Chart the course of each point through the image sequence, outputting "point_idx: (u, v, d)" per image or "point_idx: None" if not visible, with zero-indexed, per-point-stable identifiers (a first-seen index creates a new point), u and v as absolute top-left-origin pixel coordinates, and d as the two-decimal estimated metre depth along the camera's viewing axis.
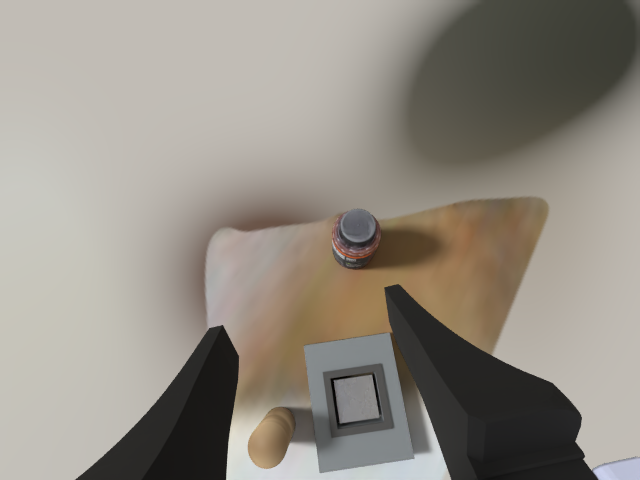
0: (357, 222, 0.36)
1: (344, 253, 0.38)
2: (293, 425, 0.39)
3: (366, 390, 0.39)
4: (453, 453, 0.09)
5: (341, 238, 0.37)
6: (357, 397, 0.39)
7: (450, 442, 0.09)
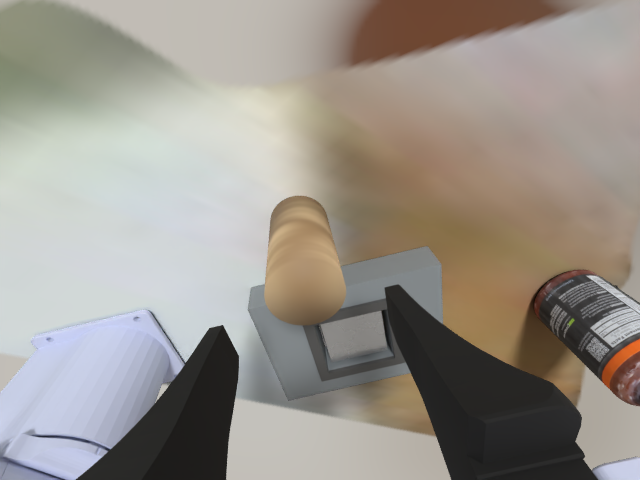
0: None
1: (630, 360, 0.21)
2: None
3: (366, 345, 0.26)
4: (453, 453, 0.09)
5: None
6: (356, 337, 0.26)
7: (450, 442, 0.09)
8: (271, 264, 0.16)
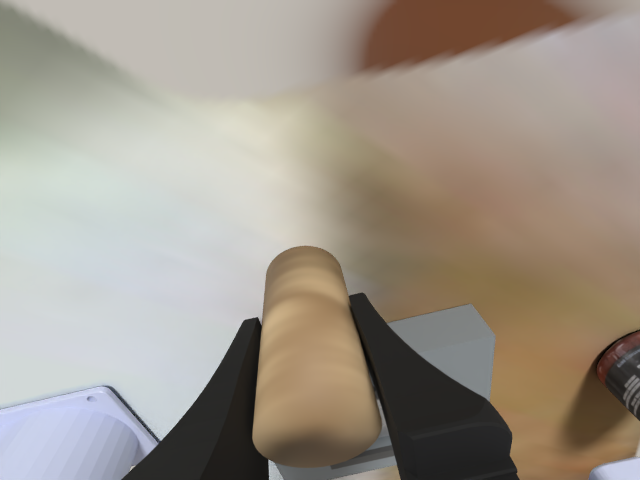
0: None
1: None
2: None
3: None
4: (400, 465, 0.09)
5: None
6: None
7: (397, 454, 0.09)
8: (264, 382, 0.10)
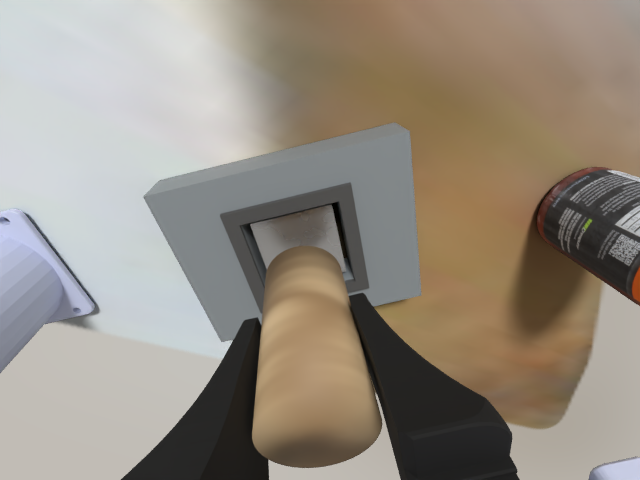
0: None
1: None
2: None
3: None
4: (400, 465, 0.09)
5: None
6: None
7: (397, 454, 0.09)
8: (263, 382, 0.10)
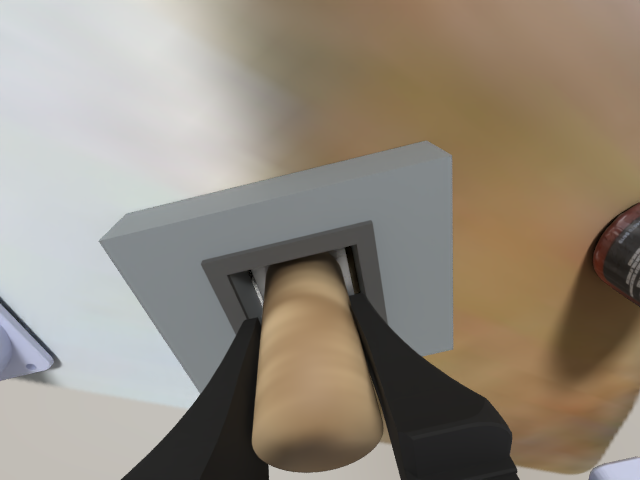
0: None
1: None
2: None
3: None
4: (400, 465, 0.09)
5: None
6: None
7: (397, 454, 0.09)
8: (263, 386, 0.10)
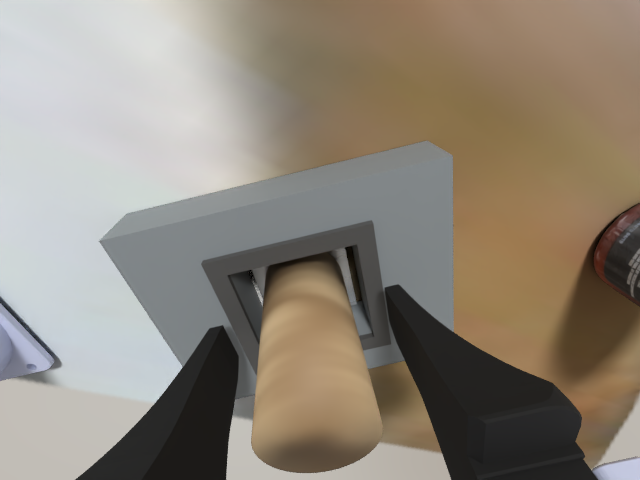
0: None
1: None
2: None
3: None
4: (453, 453, 0.09)
5: None
6: None
7: (450, 442, 0.09)
8: (263, 387, 0.10)
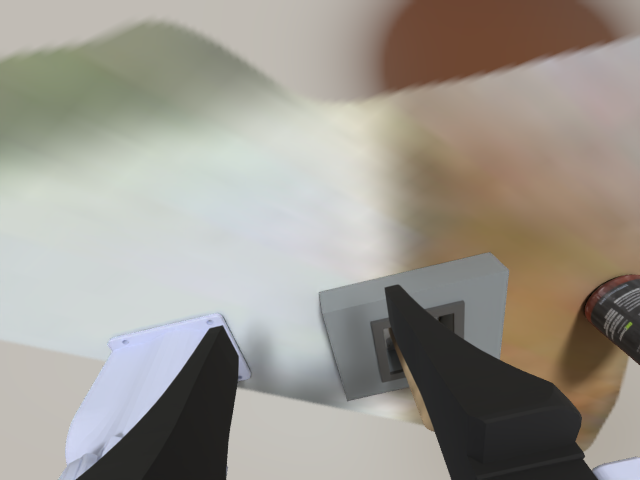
0: None
1: None
2: None
3: None
4: (453, 453, 0.09)
5: None
6: None
7: (450, 442, 0.09)
8: None
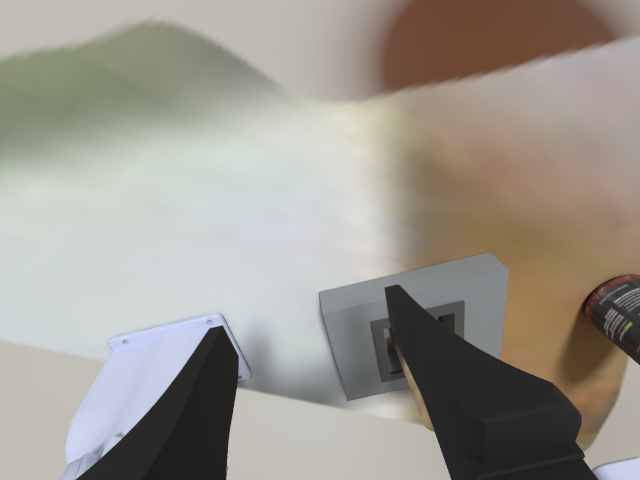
0: None
1: None
2: None
3: None
4: (453, 453, 0.09)
5: None
6: None
7: (450, 442, 0.09)
8: None
